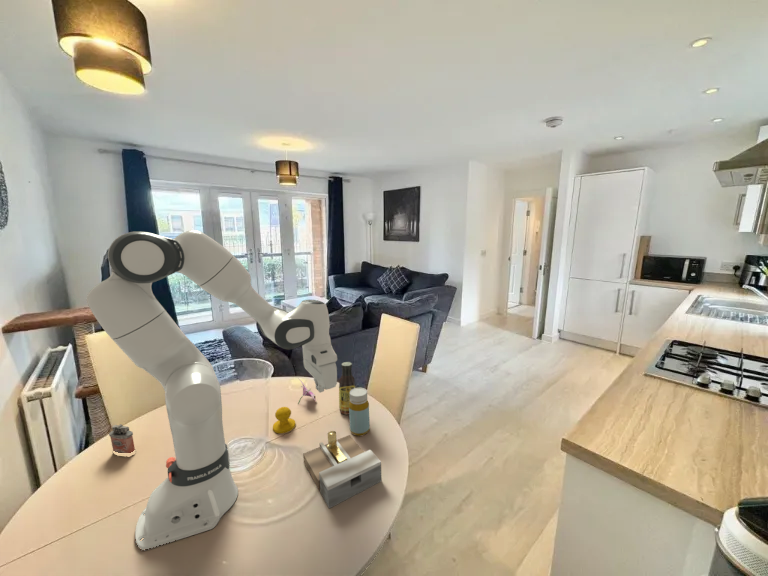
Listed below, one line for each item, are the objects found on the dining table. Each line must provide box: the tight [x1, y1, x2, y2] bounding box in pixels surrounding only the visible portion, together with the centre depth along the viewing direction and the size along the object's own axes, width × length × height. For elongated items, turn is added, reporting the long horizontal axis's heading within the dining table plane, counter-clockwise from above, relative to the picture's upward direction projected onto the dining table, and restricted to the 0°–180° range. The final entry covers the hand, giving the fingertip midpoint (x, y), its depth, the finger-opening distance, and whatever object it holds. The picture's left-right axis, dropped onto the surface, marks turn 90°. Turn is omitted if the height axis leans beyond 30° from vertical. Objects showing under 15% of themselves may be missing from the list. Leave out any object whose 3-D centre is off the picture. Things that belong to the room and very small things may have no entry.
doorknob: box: [272, 406, 297, 435], centre depth 115 cm, size 8×8×8 cm
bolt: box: [327, 430, 347, 464], centre depth 94 cm, size 9×3×6 cm, turn 33°
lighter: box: [108, 423, 136, 453], centre depth 102 cm, size 8×3×10 cm, turn 76°
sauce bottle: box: [338, 361, 356, 415], centre depth 123 cm, size 7×6×20 cm
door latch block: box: [302, 434, 383, 509], centre depth 92 cm, size 20×16×6 cm
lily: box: [297, 377, 318, 405], centre depth 132 cm, size 12×12×10 cm
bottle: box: [348, 387, 370, 437], centre depth 111 cm, size 7×7×15 cm
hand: (320, 390), depth 101 cm, fingers closed
